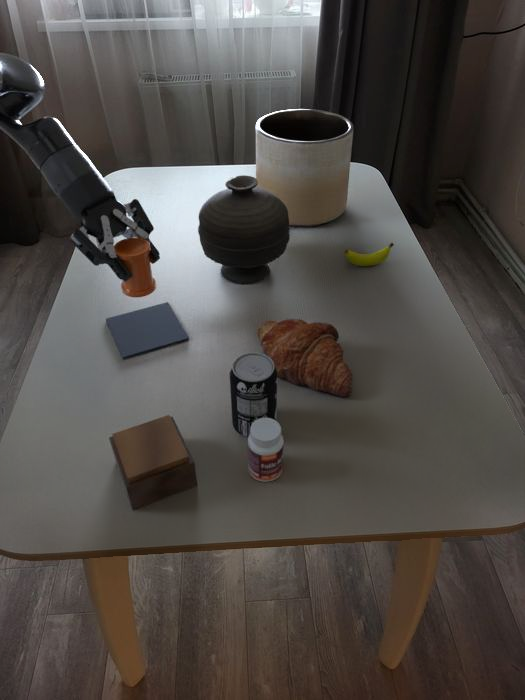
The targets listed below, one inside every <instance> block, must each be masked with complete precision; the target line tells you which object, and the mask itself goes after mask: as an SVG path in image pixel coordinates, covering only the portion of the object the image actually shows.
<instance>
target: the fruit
mask: <svg viewBox="0 0 525 700" xmlns="http://www.w3.org/2000/svg"><path fill="white" fill-rule="evenodd" d="M394 245H395V244H394V243H393V242H390V244H388V245H387V246H386V247H384V248H382V249H380V250H378V251H375V252H372V253H366V254H364V253H363V254H362V253H358V252H356V251H352V250H350V249H345V250H344V254H345V257H346V259H347V261H348V262H349V263H351V264H352V265H355V266H358V267H359V266H360V267H371V266H372V267H373V266H376V265H379V264H381V263H382V262H384V261H386V260H387V258H388V257H389V255H390V251H391V248H392V247H393V246H394Z"/></svg>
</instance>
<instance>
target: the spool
mask: <svg viewBox="0 0 525 700" xmlns="http://www.w3.org/2000/svg"><path fill="white" fill-rule="evenodd" d="M113 245H114V249H115V252H116V257H118V256H119V257H120V259H121V260H122V261H123V262H124V264H125V265H126V266H127V268H128V269H129V270H130V272H131V273H132V277H131V278H130V279H129V280H127V281H126V282H125V281H123V279H122V280H121V284H120V288H121V292H122V294H124V296H126V297H129V298H143V297H147V296H149V295H151V294H152V293H154V292H155V290H156V289H157V281H156V279H155V277H153V273H152V271H153V270H152V265H151V264H152V263H151V262H150V258H149V252H150V250H151V248H150V243H149V242H148V241H147V240H145V239H143V238H136V237H134V238H124V239H120V240H119V241H117V242H116V243H115V244H113Z"/></svg>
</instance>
